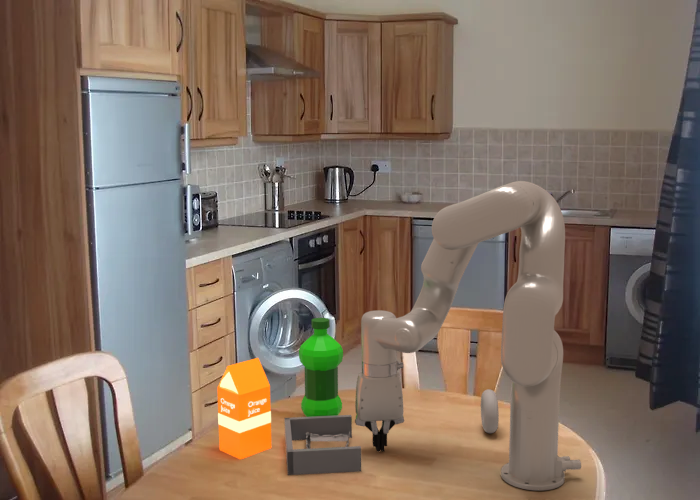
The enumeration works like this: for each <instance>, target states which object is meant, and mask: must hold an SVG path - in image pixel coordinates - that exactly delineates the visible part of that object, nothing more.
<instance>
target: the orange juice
mask: <svg viewBox="0 0 700 500" xmlns="http://www.w3.org/2000/svg"><path fill="white" fill-rule="evenodd" d="M269 382H270V381H269V380H268V377H267V375H266V372H265V370H264V368H263V365H262V363H261V360H260V358H259V357H256V358H252V359H249V360H244V361H240V362H236V363H233V364H230V365H226V369H225V371H224V373H223V375H222V377H221V379H220V382H219V384H218V386H217V387H216V389H217V412H218V413H217V420H218V421H217V422H218V423H217V424H218V439H219V442H218V447H219V451H220V452H223V453H225V454H227V455H230V456H232V457H233V458H236V459H238V460H243V459H246V458H249V457H251V456H254V455H256V454H260V453H261V452H265V451H268V450H270V449H272V411H271V409H272V408H271V385H270V383H269Z"/></svg>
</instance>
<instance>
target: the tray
mask: <svg viewBox="0 0 700 500" xmlns="http://www.w3.org/2000/svg"><path fill="white" fill-rule="evenodd" d="M352 423H353V422H352V415H351V414H343V415H342V414H339V415H336V416H314V417H306V416H297V417H296V416H294V417H284V441H285V443H284V445H285V457H286V471H287V472H286V473H287V476H295V475H301V476H302V475H317V474H335V473H337V474H338V473H352V472H353V473H355V472H357V473H358V472H362V446H361V445H355V446H348V447H345V446H339V447H338V446H337V447H334V446H333V447H317V448H316V447H315V448H314V447H313V448H310V449H307V448H297V449H295V448H293V441H306V439H307V438H306V436H307V435H306V433H307V432H308V433H309V434H310V433H312V435H313V434H318V435H319V436H323V435H332V436H335V435H339V434H343V435H347V436H348V435H349V431H350V438H349V439H351V438H353V436H352V435H353V434H352V433H353V432H352V430H353V427H352V426H353V425H352Z"/></svg>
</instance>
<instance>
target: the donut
mask: <svg viewBox="0 0 700 500" xmlns="http://www.w3.org/2000/svg"><path fill="white" fill-rule="evenodd" d="M480 397H481V398H480V417H481V420H480V421H481V425H482V428H483V430H484V432H486V433H487V434H494V433H495V432H497V430H498V428H499V420H500V419H499V413H500V412H499V401H498V396H497V394H496V392H495V391H494V389H493V390H492V389H490V388H489V389H488V388H487V389H485V390H483V392H482V394H481V396H480Z"/></svg>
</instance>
